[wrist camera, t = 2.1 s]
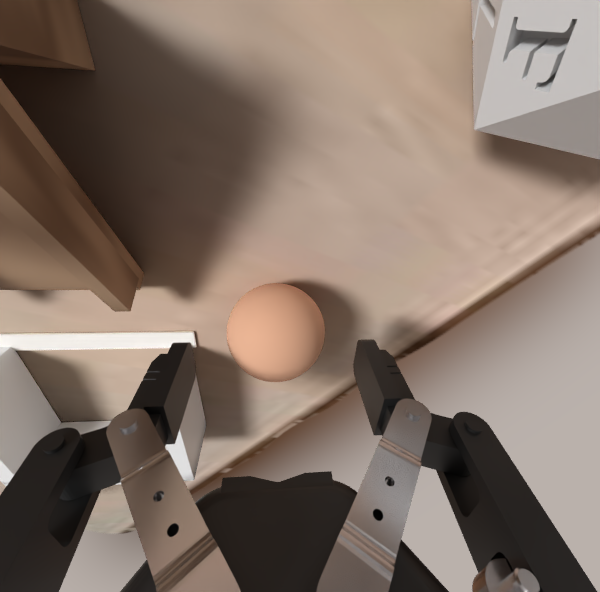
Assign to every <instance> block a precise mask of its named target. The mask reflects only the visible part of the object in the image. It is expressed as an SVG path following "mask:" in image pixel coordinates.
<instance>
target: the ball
mask: <svg viewBox="0 0 600 592" xmlns="http://www.w3.org/2000/svg"><path fill="white" fill-rule="evenodd" d="M324 339H325V326H324V320H323V317H322V314H321V312H320V310H319V308H318V306H317V305H316V303H315V302H314V301H313V299H312V298H311V297H310V296H309V295H307V294H306V293H305V292H303V291H302V290H300V289H298V288H296V287H294V286H291V285H287V284H281V283H272V284H265V285H262V286H259V287H257V288H254V289H253V290H251V291H249V292H248V293H246V294H245V295H244V296H243V297H242V298H241V299H240V300H239V301H238V302H237V304H236V305H235V307H234V308H233V310H232V312H231V314H230V317H229V320H228V325H227V342H228V346H229V349H230V352H231V354H232V356H233V358H234V360H235V361H236V363H237V364H238V365H239V366H240V367H241V368H242V369H243V370H244V371H245V372H246V373H248V374H249V375H251V376H253V377H255V378H257V379H260V380H263V381H269V382H282V381H287V380H291V379H294V378H296V377H298V376H300V375H301V374H303V373H304V372H306V371H307V370H308V369H309V368H310V367H311V366H312V365H313V364H314V363H315V361H316V360H317V358H318V357H319V355H320V353H321V350H322V348H323V344H324Z"/></svg>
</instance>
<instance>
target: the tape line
mask: <svg viewBox="0 0 600 592" xmlns="http://www.w3.org/2000/svg"><path fill="white" fill-rule="evenodd" d="M179 342H190V343H191V345H192V348H196V347H197V345H196V340H195V334H194V331H177V332H93V333H8V334H0V347H11V348H12V349H13V351H18V350H77V349H137V348H170V347H171V345H172V344H173V343H179Z"/></svg>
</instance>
